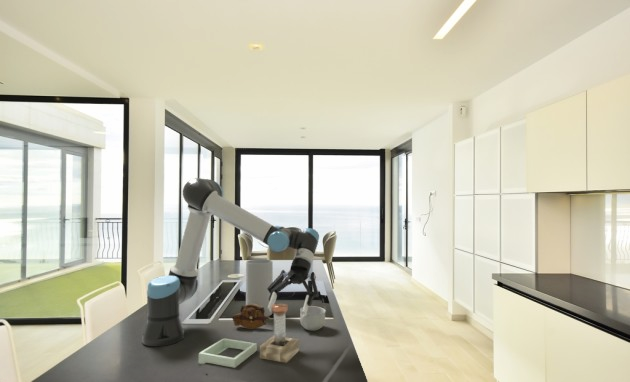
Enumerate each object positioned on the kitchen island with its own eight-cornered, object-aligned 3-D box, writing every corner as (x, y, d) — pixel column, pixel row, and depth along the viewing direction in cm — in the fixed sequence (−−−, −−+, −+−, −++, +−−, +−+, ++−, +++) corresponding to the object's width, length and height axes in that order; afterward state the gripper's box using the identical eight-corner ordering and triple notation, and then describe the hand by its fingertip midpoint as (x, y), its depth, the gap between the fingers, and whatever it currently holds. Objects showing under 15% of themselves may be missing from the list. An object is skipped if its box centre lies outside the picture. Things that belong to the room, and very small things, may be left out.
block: (259, 360, 124) (259, 346, 124) (273, 349, 133) (273, 335, 133) (286, 365, 120) (286, 350, 120) (298, 353, 129) (298, 339, 130)
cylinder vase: (268, 319, 166) (268, 264, 167) (241, 317, 169) (241, 263, 169) (275, 311, 179) (275, 259, 179) (251, 309, 181) (251, 258, 181)
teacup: (311, 322, 162) (311, 304, 163) (330, 327, 156) (330, 308, 156) (289, 331, 152) (289, 311, 152) (309, 337, 145) (309, 316, 145)
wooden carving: (230, 329, 154) (230, 305, 154) (233, 325, 158) (233, 302, 158) (268, 331, 151) (268, 307, 151) (271, 327, 156) (271, 304, 156)
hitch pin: (268, 356, 125) (268, 307, 125) (276, 349, 130) (276, 302, 130) (283, 358, 123) (283, 309, 123) (290, 352, 128) (290, 304, 128)
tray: (198, 363, 122) (198, 353, 122) (223, 347, 135) (223, 338, 135) (234, 370, 117) (234, 359, 117) (256, 353, 130) (256, 343, 130)
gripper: (270, 255, 148) (252, 302, 134) (329, 258, 139) (316, 309, 125) (276, 266, 153) (259, 313, 138) (334, 269, 144) (321, 320, 130)
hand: (286, 311), depth 132 cm, fingers open, 13 cm apart
